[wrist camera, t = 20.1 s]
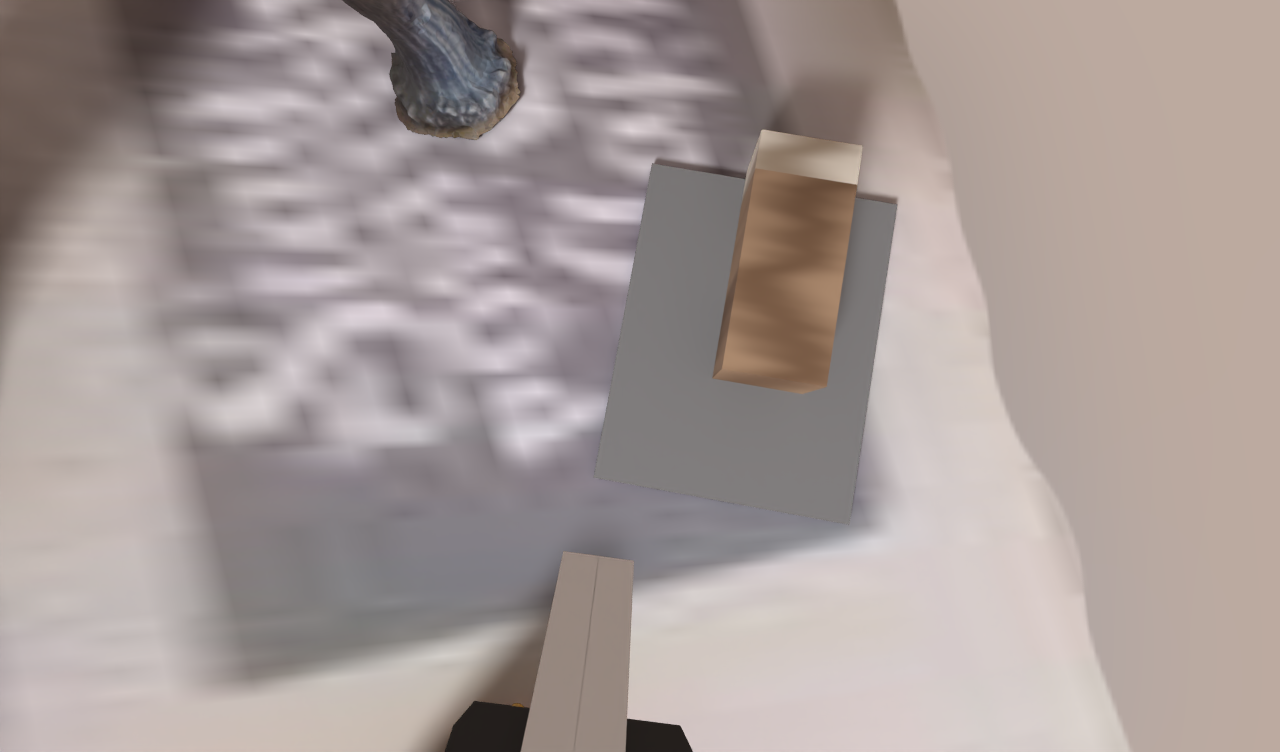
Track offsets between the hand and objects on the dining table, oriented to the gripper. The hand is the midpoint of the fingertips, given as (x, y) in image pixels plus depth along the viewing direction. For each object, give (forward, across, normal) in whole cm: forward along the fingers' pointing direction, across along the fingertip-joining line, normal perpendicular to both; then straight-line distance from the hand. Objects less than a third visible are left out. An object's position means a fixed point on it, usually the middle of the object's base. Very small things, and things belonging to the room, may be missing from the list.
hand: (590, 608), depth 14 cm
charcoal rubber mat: (+24, +7, 0) cm, 25 cm away
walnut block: (+20, +7, -1) cm, 21 cm away
